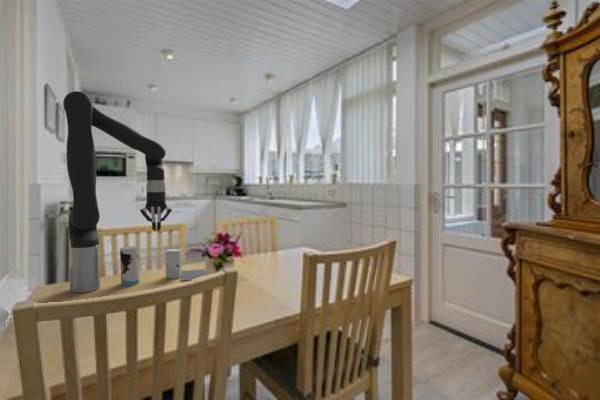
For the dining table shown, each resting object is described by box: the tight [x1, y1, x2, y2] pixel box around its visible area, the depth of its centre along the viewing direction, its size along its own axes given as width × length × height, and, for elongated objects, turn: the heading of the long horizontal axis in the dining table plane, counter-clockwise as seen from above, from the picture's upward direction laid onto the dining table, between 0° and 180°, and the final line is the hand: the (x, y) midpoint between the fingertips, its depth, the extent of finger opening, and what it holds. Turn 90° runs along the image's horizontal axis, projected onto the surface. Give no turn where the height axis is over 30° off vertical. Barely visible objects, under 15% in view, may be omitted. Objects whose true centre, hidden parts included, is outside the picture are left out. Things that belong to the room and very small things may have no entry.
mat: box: [180, 268, 207, 282], centre depth 150 cm, size 12×16×1 cm
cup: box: [119, 245, 140, 287], centre depth 137 cm, size 7×7×15 cm
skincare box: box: [165, 248, 183, 279], centre depth 147 cm, size 6×4×12 cm
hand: (156, 230), depth 144 cm, fingers closed
